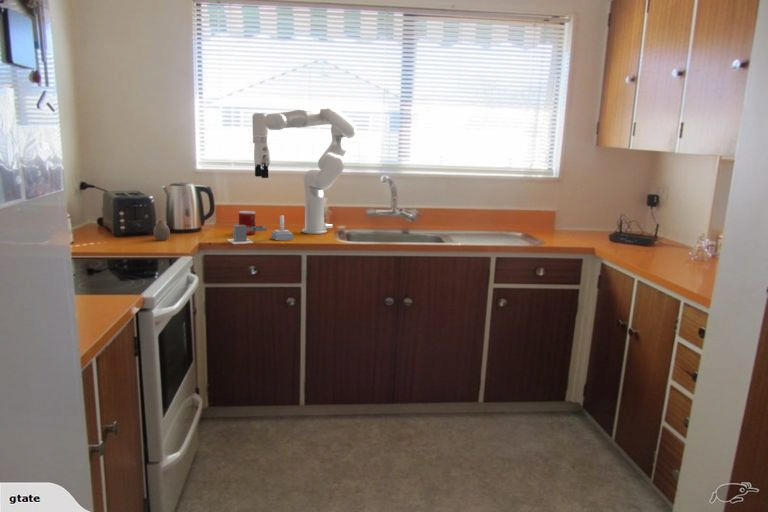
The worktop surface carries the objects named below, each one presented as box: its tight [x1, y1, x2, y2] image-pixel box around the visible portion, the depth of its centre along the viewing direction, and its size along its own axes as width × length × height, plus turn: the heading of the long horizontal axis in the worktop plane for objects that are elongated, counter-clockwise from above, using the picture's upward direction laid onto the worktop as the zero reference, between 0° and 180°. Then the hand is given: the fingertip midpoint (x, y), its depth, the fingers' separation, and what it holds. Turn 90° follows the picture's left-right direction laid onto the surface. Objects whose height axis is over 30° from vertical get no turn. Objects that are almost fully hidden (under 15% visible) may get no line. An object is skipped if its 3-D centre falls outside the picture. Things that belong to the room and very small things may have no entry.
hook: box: [232, 224, 267, 242], centre depth 254 cm, size 14×5×7 cm, turn 120°
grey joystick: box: [270, 215, 294, 241], centre depth 261 cm, size 8×7×11 cm
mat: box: [226, 238, 254, 245], centre depth 252 cm, size 9×11×1 cm
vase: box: [153, 219, 171, 242], centre depth 249 cm, size 7×7×9 cm
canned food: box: [238, 210, 257, 236], centre depth 272 cm, size 8×8×11 cm
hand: (261, 177), depth 263 cm, fingers open, 9 cm apart
